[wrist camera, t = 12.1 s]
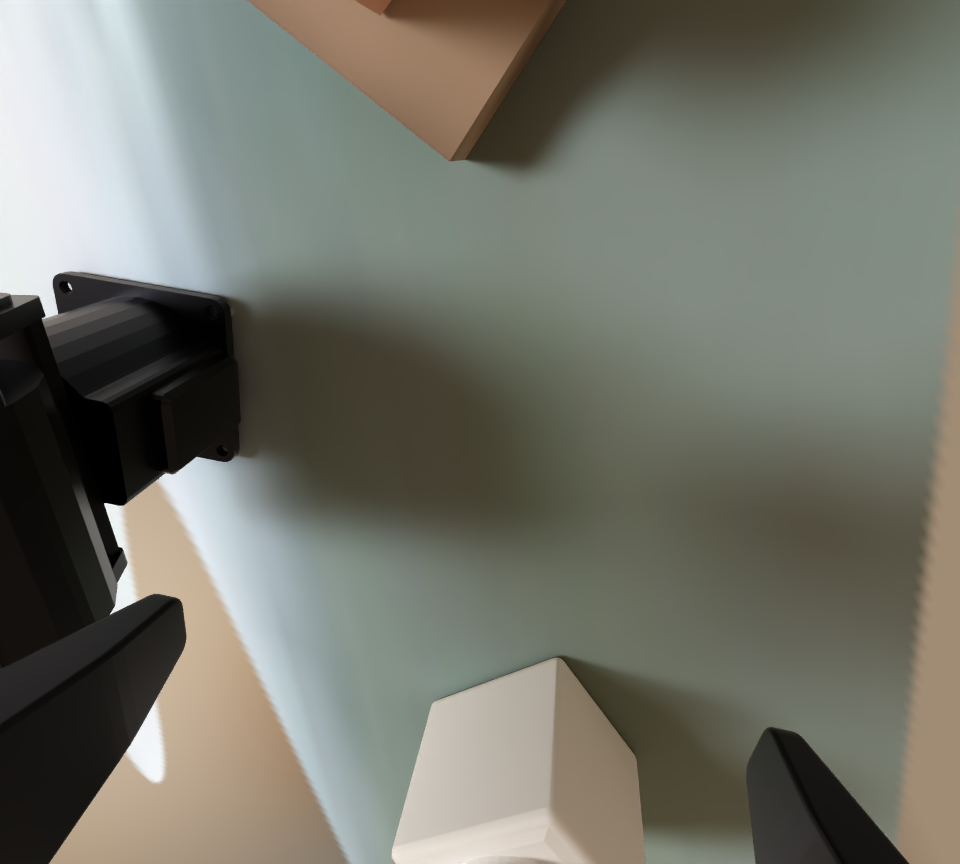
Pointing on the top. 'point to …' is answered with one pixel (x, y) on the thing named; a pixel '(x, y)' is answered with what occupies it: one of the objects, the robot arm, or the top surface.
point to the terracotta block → (375, 5)
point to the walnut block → (424, 56)
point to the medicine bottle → (522, 778)
